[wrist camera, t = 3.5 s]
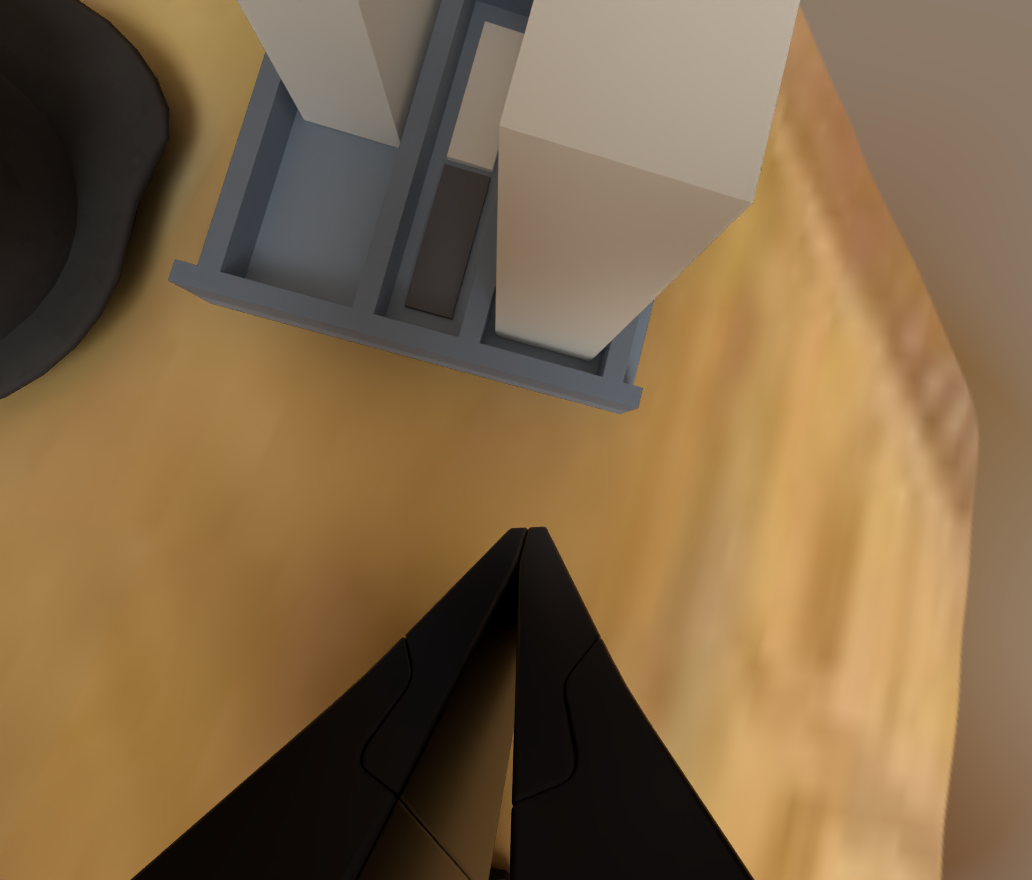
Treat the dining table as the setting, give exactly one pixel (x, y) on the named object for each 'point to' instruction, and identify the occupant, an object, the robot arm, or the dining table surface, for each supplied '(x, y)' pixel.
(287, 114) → the divided tray
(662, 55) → the light grey rectangular block
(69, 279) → the casserole
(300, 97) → the beige box
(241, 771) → the dining table surface
